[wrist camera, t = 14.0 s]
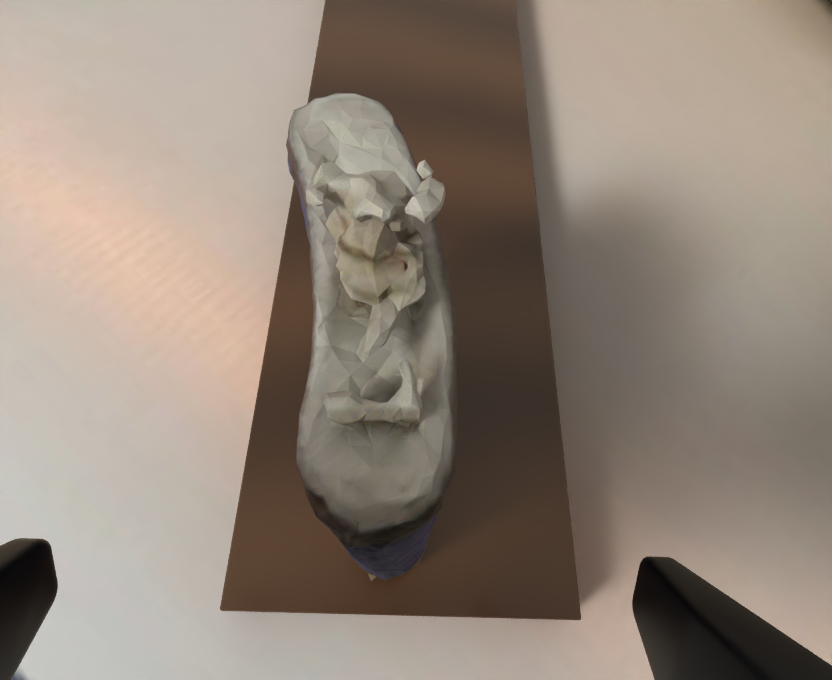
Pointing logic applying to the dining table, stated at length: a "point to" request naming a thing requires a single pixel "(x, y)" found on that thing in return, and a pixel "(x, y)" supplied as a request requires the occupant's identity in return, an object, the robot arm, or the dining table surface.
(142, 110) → the dining table surface
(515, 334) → the board
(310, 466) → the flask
